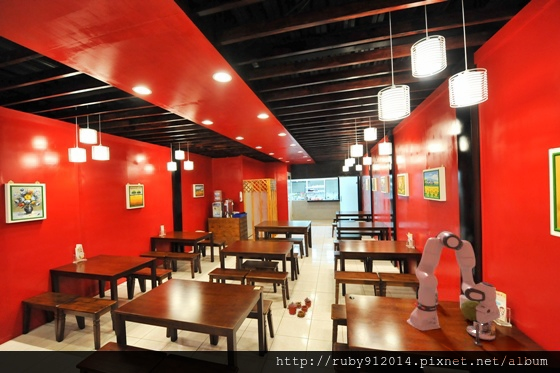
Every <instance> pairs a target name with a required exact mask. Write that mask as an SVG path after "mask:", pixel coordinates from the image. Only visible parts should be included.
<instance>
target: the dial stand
mask: <svg viewBox="0 0 560 373" xmlns="http://www.w3.org/2000/svg"><path fill="white" fill-rule="evenodd" d="M473 326H474V329H476V337H475V340H473V344H474V345H476V346H478V347H481V346H483V345H482V342H481V341H480V339H479V331H481V332H482V324H480V323H479V322H478V321H473Z"/></svg>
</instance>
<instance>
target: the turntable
mask: <svg viewBox="0 0 560 373" xmlns="http://www.w3.org/2000/svg"><path fill="white" fill-rule="evenodd" d="M466 332H467V333H468V334H469V335H471V336H472V337H474V338H476V329H474V325H468V326H467V327H466ZM479 340H484V341H493V340H496V326H495V324H493V323H492V324H491V325H490V332H489V333H486V332H483V331H482V332H481V331H479Z"/></svg>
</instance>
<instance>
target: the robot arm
mask: <svg viewBox="0 0 560 373" xmlns="http://www.w3.org/2000/svg"><path fill="white" fill-rule="evenodd" d="M443 248H447V249H450V250H454V252H455V254H454V255H455V258H456V262H457V265H458V266H459V269H460V270H461V271H460V272H461V276H462V281H461V284H460V289H461V291H462V292H463V295H465V296H466V298H468V299H469V300H471V301H477V302H480V303H479V304H478V305H477V306H476V310H477V312H476V317H477V321H476V322H477V323H481V324H485V323H488V324H489V325H491V324H492V325H493V321H496V320H498V319H500V317H501V313H500V312H501V311H500V309H499V307H498V304H497V291H496V287H495V286H494V285H493V284H491V283H490V282H487V281H481V282H479V283H477V284H476V283H475V281H474V277H473V270H472V269H473V268H475V266H476V257H475V252H474V248H473V246H472V244H471V242H470V241H468V240H465V239H464V240H463V239H461V238H460V237H459V236H458V235H456V234H455V233H454V232H451V231H449V230H442V231H440V232H439V233H438V234H437V235H436V236H435V237H429V238H428V239H427V240H426V242H425V245H424V247H423V251H422V255H421V259H420V262H419V264H418V265H417V267H416V269H415V275H416V276H415V277H416V278H417V280H418V281H419V282H418V283H419V288H418V291H417V295H418V296H417V297H418V299H417V300H418V301H417V303H416V302H414V305H413V306H414V307H415V308H414V310H413V311H412V312H411V313H410V316H409V318H408V319H407V320H406V322H407V323H408V325H409V326H411V327H413V328H414V329H416V330H419V331H430V330H435V329H436V330H437V329H440V328H441V326H440V324H439V317H438V313H437V305H436V304H435V292H436V288H437V287H438V284H439V283H438V282H439V281H438V279H437V276H436V275H435V274H434V271H435V269H436V268H437V267H438V266H439V263H440V259H441V256H442V255H441V254H442V251H443Z"/></svg>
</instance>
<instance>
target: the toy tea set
mask: <svg viewBox="0 0 560 373" xmlns="http://www.w3.org/2000/svg"><path fill="white" fill-rule="evenodd" d="M303 300H304V305H302V302H301V301H296V302H293V301H292V302H290V303H289V304H288V305H287V308H286V310H288V313H289V315H291V316H295V315H296V316H297V318H298V319H299V318H300V319H304V318H305V317H306V315H307V313H308V310H309V308H312V300H310V298H308V297H306V298H304V299H303Z"/></svg>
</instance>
